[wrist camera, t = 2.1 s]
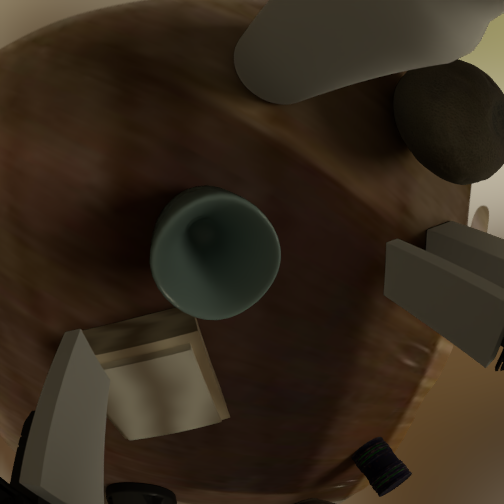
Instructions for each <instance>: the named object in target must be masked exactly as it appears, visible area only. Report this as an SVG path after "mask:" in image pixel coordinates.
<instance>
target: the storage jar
mask: <svg viewBox="0 0 504 504" xmlns="http://www.w3.org/2000/svg"><path fill="white" fill-rule="evenodd" d="M352 459H353V461H355V464H356V466H357V467H358V468H359V469H360V471H361V472H362V473H364V475H365V476H366V477H367V479H368V480H369V483H370V485H371V486H373V487H372V488H373V489H374V490H375V491H376V493H378V495H379V497H381V496H383V495H385V494H387V493H388V492H390V491H392V490H393V489H395V488H396V487H398V486H399V485H400V484H401V483H403V482H404V481H405V480H406V479H408V477H410V476H411V474H412V473H411V472H410V471H409V469H408V468H407V467H406V465H405V464H404V463H403V462H402V461H401V460H399V459H398V458H397V457H396V455H395V454H394V453H393V451H392V449H391V448H390V447H389V445H388V444H387V443H386V442H385V441H383V438H382V437H377V438H375V439H373V440H371V441H369V442H367V443H366V444H364V445H363V446H362V447H360V448H359V449H358V450H357V451H356V452H355V453H354V454H353V456H352Z"/></svg>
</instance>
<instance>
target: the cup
mask: <svg viewBox="0 0 504 504" xmlns="http://www.w3.org/2000/svg"><path fill="white" fill-rule="evenodd" d="M280 260H281V248H280V244H279V240H278V237H277V234H276V232H275V230H274V228H273V226H272V224H271V223H270V222H269V220H268V219H267V217H266V216H265V215H264V214H263V213H262V212H261V211H260V210H259V209H258V208H257V207H256V206H255V205H254V204H252V203H251V202H249V201H247V200H246V199H244V198H243V197H241V196H239V195H237V194H235V193H233V192H230V191H228V190H225V189H222V188H220V187H215V186H208V185H204V186H195V187H192V188H189V189H186V190H185V191H183V192H181V193H179V194H178V195H176V196H175V197H174V198H173V199H172V200H170V201H169V203H168V204H167V205H166V206H165V207H164V209H163V210H162V212H161V213H160V215H159V217H158V219H157V221H156V224H155V227H154V230H153V233H152V238H151V245H150V257H149V261H150V267H151V273H152V276H153V278H154V281H155V283H156V285H157V287H158V289H159V290H160V291H161V293H162V294H163V296H164V297H165V298H166V299H167V300H168V301H169V302H170V303H171V304H172V305H173V306H175V307H176V308H178V309H179V310H181V311H182V312H184V313H186V314H189V315H191V316H193V317H196V318H201V319H205V320H220V319H225V318H229V317H232V316H235V315H237V314H239V313H241V312H243V311H245V310H246V309H248V308H250V307H251V306H252V305H253V304H254V303H256V302H257V301H258V300H259V299H260V298H261V297H262V296H263V295H264V294H265V293H266V292H267V290H268V289H269V287H270V286H271V284H272V283H273V281H274V279H275V277H276V274H277V272H278V269H279V265H280Z"/></svg>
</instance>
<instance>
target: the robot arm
mask: <svg viewBox="0 0 504 504" xmlns="http://www.w3.org/2000/svg"><path fill="white" fill-rule="evenodd" d="M384 295H385V296H386V297H387V298H389V299H390V300H392V301H393V302H395V303H396V304H398V305H399V306H401V307H402V308H403V309H405V310H406V311H408V312H409V313H411V314H412V315H414V316H415V317H416V318H418V319H419V320H421V321H422V322H424V323H425V324H426V325H428V326H429V327H431V328H432V329H433V330H435V331H436V332H438V333H439V334H440V335H442V336H443V337H445V338H446V339H447V340H449V341H450V342H451V343H453V344H454V345H456V346H457V347H458V348H460V349H461V350H462V351H464V352H465V353H467V354H468V355H469V356H470V357H472V358H473V359H474V360H476V361H477V362H478V363H480V364H481V365H482V366H484V367H485V368H486V367H487V366H488V365H489V364H490V363H491V362H492V361H493V360H494V358H495V357H496V354H497V352H498V350H499V347H500V345H501V346H502V347H504V288H502V287H500V286H498V285H496V284H494V283H492V282H490V281H488V280H486V279H484V278H482V277H480V276H478V275H476V274H474V273H472V272H470V271H468V270H466V269H464V268H462V267H460V266H458V265H456V264H454V263H451V262H449V261H447V260H445V259H443V258H441V257H438V256H436V255H434V254H432V253H430V252H427V251H425V250H423V249H421V248H418V247H416V246H414V245H411V244H409V243H407V242H404V241H402V240H400V239H395V240H392V241H389V242H386V266H385V284H384ZM502 362H503V364H502V366H501V371H502V370H504V348H503V351H502V353H501V355H500V357H499V359H498V362H497V364H496V366H495V371H498V369H499V367H500V365H501V363H502ZM109 387H110V379H109V378H108V376H107V374H106V373H105V371H104V369H103V368H102V366H101V364H100V363H99V361H98V359H97V358H96V356H95V354H94V352H93V351H92V349H91V347H90V345H89V343H88V342H87V340H86V338H85V336H84V334H83V332H82V330H81V329H77V330H73V331H68V332H65V334H64V336H63V338H62V340H61V343H60V345H59V348H58V350H57V352H56V355H55V357H54V360H53V362H52V365H51V367H50V370H49V373H48V375H47V378H46V381H45V384H44V386H43V389H42V392H41V395H40V398H39V401H38V404H37V408H36V411H32V412H31V413H30V415H29V416H28V418H27V419H26V421H25V422H24V425H23V429H22V432H21V436H22V437H20V440H19V444H18V445H19V447H18V448H17V452H16V457H15V461H14V466H13V471H12V476H11V482H10V484H9V483H7V482H6V481H5V480H4V479H2V478H1V477H0V504H104V442H105V426H106V414H107V404H108V395H109ZM106 499H107V502H108V504H177V501H176V496H175V494H174V493H173V492H172V491H170V490H168V489H166V488H163V487H159V486H155V485H149V484H142V483H117V484H112V485H110V486H108V487H107V488H106Z"/></svg>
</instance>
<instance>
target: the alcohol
mask: <svg viewBox="0 0 504 504" xmlns="http://www.w3.org/2000/svg"><path fill="white" fill-rule="evenodd" d="M503 13H504V0H269V1H268V2H267V4H266V5H265V6H264V7H263V9H262V10H261V11H260V12H259V14H258V15H257V16H256V18H255V19H254V20H253V22H252V23H251V24H250V26H249V27H248V28H247V30H246V31H245V32H244V34H243V35H242V36H241V38H240V39H239V41H238V43H237V45H236V47H235V51H234V65H235V69H236V72H237V74H238V76H239V78H240V80H241V81H242V83H243V84H244V85H245V86H246V88H248V89H249V90H250V91H251V92H252V93H253V94H255V95H256V96H258V97H260V98H261V99H263V100H266V101H268V102H271V103H276V104H287V105H288V104H294V103H298V102H301V101H303V100H306V99H309V98H312V97H315V96H318V95H320V94H323V93H326V92H329V91H333V90H336V89H339V88H342V87H345V86H349V85H352V84H356V83H359V82H363V81H366V80H370V79H374V78H378V77H382V76H386V75H390V74H394V73H398V72H403V71H408V70H412V69H418V68H423V67H428V66H434V65H441V64H447V63H450V62H452V61H455V60H457V59H459V58H461V57H463V56H465V55H467V54H469V53H471V52H472V51H473V50H474V49H475V47H476V46H477V45H478V44H479V42H480V41H481V39H482V37H483V35H484V33H485V31H486V29H487V27H488V24H489V22H490V21H492V20H493V19H495V18H496V17H498V16H500V15H501V14H503Z"/></svg>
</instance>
